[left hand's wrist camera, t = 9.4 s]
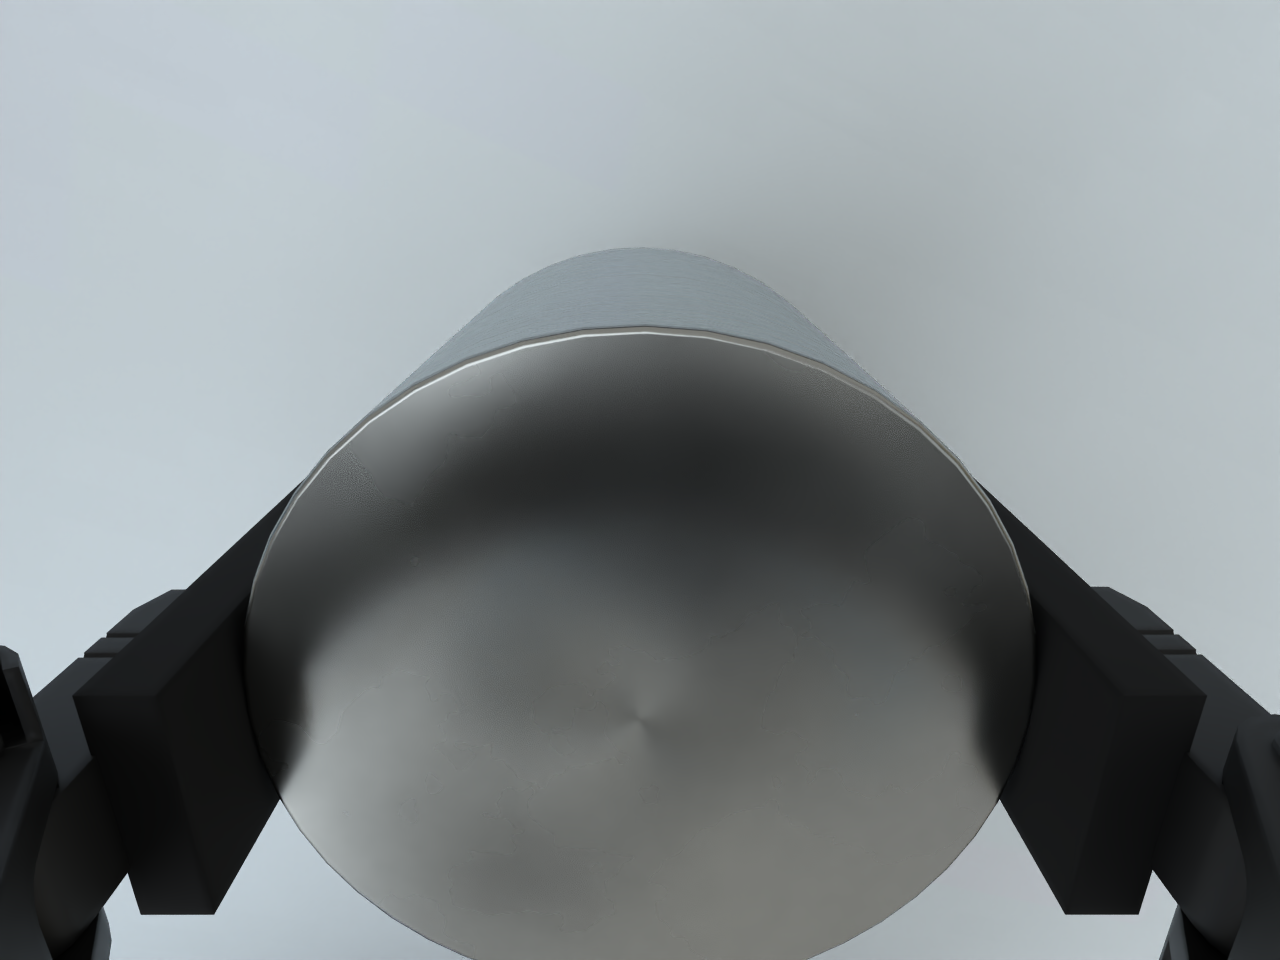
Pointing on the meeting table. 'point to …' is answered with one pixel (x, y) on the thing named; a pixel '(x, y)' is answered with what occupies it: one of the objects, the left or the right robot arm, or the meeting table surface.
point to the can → (639, 632)
